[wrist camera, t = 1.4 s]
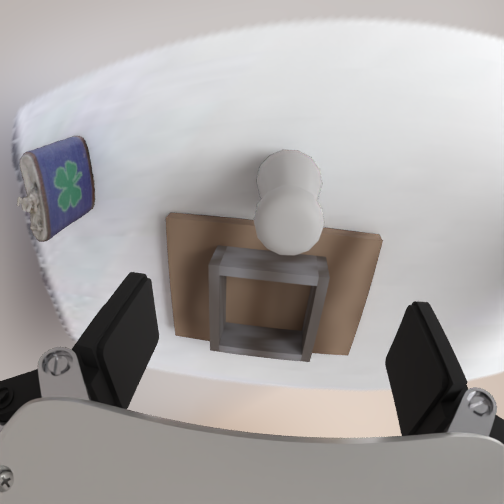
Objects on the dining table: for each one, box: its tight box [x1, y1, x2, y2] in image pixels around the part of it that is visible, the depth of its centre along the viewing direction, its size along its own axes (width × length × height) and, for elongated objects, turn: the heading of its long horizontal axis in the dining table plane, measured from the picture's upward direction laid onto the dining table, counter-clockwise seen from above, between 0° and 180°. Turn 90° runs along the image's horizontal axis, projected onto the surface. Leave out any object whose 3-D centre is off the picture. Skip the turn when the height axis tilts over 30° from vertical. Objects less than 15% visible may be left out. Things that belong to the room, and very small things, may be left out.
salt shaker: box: [254, 150, 324, 256], centre depth 24 cm, size 6×6×13 cm
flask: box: [17, 136, 95, 242], centre depth 27 cm, size 9×3×11 cm, turn 179°
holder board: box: [166, 213, 383, 362], centre depth 34 cm, size 22×16×6 cm
